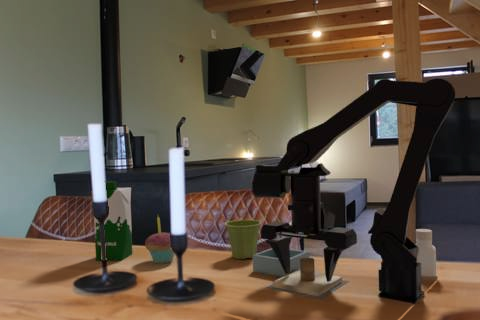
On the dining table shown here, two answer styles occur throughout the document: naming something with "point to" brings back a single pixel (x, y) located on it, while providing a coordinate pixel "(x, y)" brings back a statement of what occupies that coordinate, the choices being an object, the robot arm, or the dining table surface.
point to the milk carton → (116, 224)
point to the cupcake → (159, 246)
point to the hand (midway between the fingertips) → (307, 277)
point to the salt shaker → (426, 252)
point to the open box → (276, 262)
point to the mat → (312, 295)
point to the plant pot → (243, 237)
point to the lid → (307, 280)
